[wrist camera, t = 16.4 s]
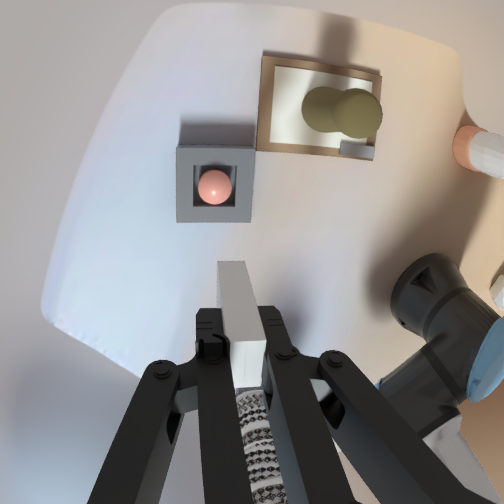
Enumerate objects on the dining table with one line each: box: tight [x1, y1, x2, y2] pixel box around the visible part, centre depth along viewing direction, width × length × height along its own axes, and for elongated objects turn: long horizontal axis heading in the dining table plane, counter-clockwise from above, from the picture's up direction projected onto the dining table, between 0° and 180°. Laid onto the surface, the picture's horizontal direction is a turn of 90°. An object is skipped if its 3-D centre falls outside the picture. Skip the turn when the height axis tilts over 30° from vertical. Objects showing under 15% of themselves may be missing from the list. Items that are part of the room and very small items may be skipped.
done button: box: [198, 168, 232, 204], centre depth 37 cm, size 4×4×2 cm
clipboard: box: [256, 56, 382, 161], centre depth 37 cm, size 16×12×1 cm
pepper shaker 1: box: [301, 86, 383, 139], centre depth 32 cm, size 6×6×11 cm
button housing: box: [176, 145, 256, 223], centre depth 39 cm, size 9×9×3 cm
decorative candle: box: [236, 390, 288, 504], centre depth 49 cm, size 9×9×25 cm
